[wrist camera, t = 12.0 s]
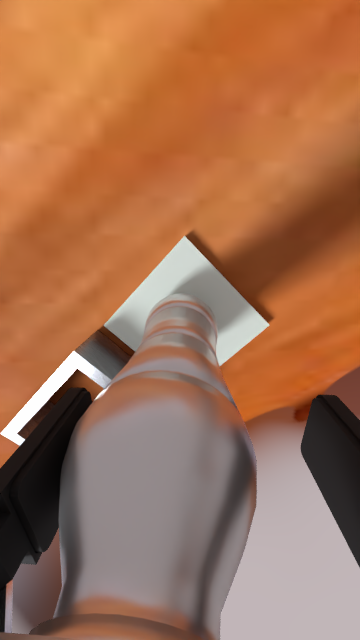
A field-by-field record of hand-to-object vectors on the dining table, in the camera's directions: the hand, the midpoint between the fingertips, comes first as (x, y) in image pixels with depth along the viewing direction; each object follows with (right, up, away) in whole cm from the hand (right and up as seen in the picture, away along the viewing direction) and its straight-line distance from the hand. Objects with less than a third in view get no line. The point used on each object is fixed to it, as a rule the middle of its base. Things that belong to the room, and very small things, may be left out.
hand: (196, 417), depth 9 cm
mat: (0, +4, +13) cm, 14 cm away
